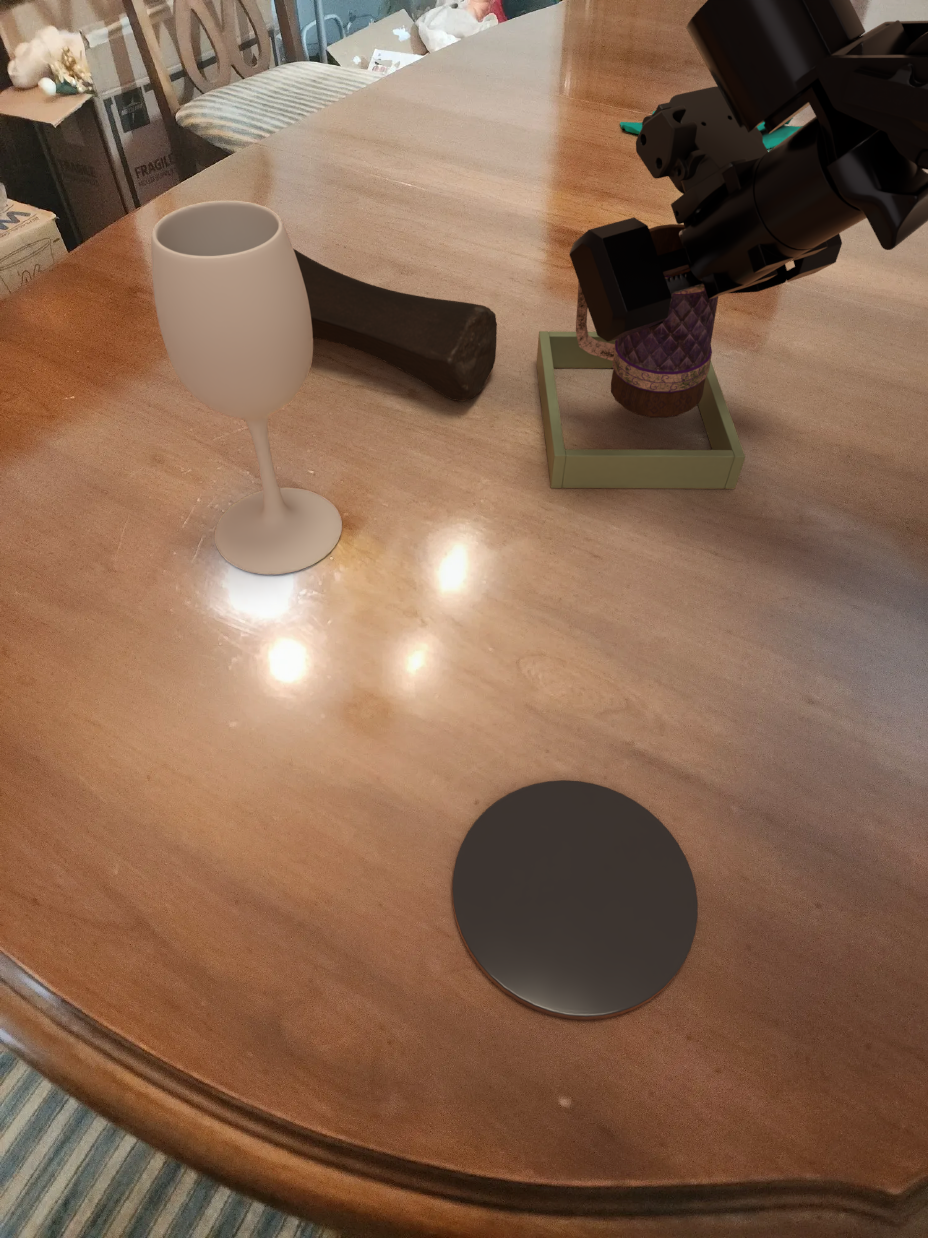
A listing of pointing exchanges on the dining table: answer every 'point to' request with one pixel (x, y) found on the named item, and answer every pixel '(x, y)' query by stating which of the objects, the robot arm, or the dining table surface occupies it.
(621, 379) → the mug
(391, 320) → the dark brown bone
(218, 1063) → the dining table surface
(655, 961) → the coaster
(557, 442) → the frame
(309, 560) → the wineglass
